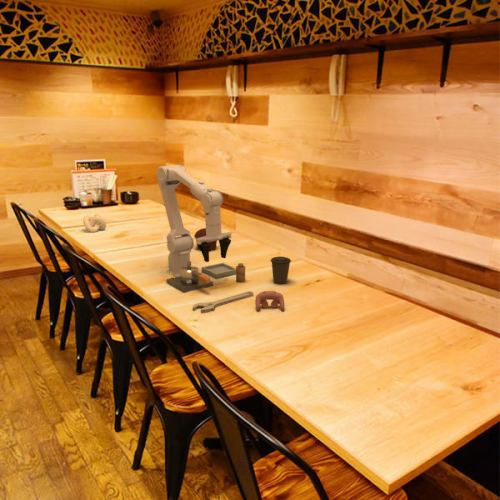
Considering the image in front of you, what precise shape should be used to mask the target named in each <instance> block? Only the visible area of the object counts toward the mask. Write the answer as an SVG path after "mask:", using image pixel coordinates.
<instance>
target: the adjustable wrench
mask: <svg viewBox="0 0 500 500" xmlns="http://www.w3.org/2000/svg"><path fill="white" fill-rule="evenodd" d="M253 296H254V292H253V291H248V290H247V291H245V292H242V293H239V294H235V295H231V296H228V297H224V298H222V299H218V300H215V301H208V302H207V301H206V302H196V303H195V304H193V305H192V311H193V312H195V311H197V310H198V309H199V310H200V313H201V314H205V313H211V312H214V311H215V310H216V308H218V307H221V306H223V305H228V304H231V303H233V302H236V301H237V302H238V301H240V300H245V299H248V298H251V297H253Z"/></svg>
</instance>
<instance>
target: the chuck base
mask: <svg viewBox="0 0 500 500" xmlns="http://www.w3.org/2000/svg"><path fill="white" fill-rule="evenodd" d="M166 284H168V285H170V286H171V287H173V288H174V289H175V290H178V291H179V292H181V293H188V292H192V291H196V290H200V289H204V288H205V289H206V288H209V287H212V286H214V282H213V281H212V280H210V283H207V284H205V283H203V282H202V281H200V280H198V281H197V282H195V283H183V282H181V281H180V276H179V277H176V276H174V277H170V278H166Z"/></svg>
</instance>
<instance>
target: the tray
mask: <svg viewBox="0 0 500 500" xmlns="http://www.w3.org/2000/svg"><path fill="white" fill-rule="evenodd" d="M201 273H203V274H204V275H207V276H208V277H210V278H213V279H215V280H218V279H219V280H220V279H223V278H227V277H230V276H236V267H234V266H231V265H230V264H227V263H225V262H220V263H216V264H209V265H207V266H206V265H205V266H202V267H201Z"/></svg>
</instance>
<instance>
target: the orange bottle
mask: <svg viewBox="0 0 500 500" xmlns="http://www.w3.org/2000/svg"><path fill="white" fill-rule="evenodd" d="M235 268H236V274H235V281H236V283H239V284H242V283H245V282H246V266H245V265H244V263H242V262H238V264H237V265H236V266H235Z"/></svg>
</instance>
